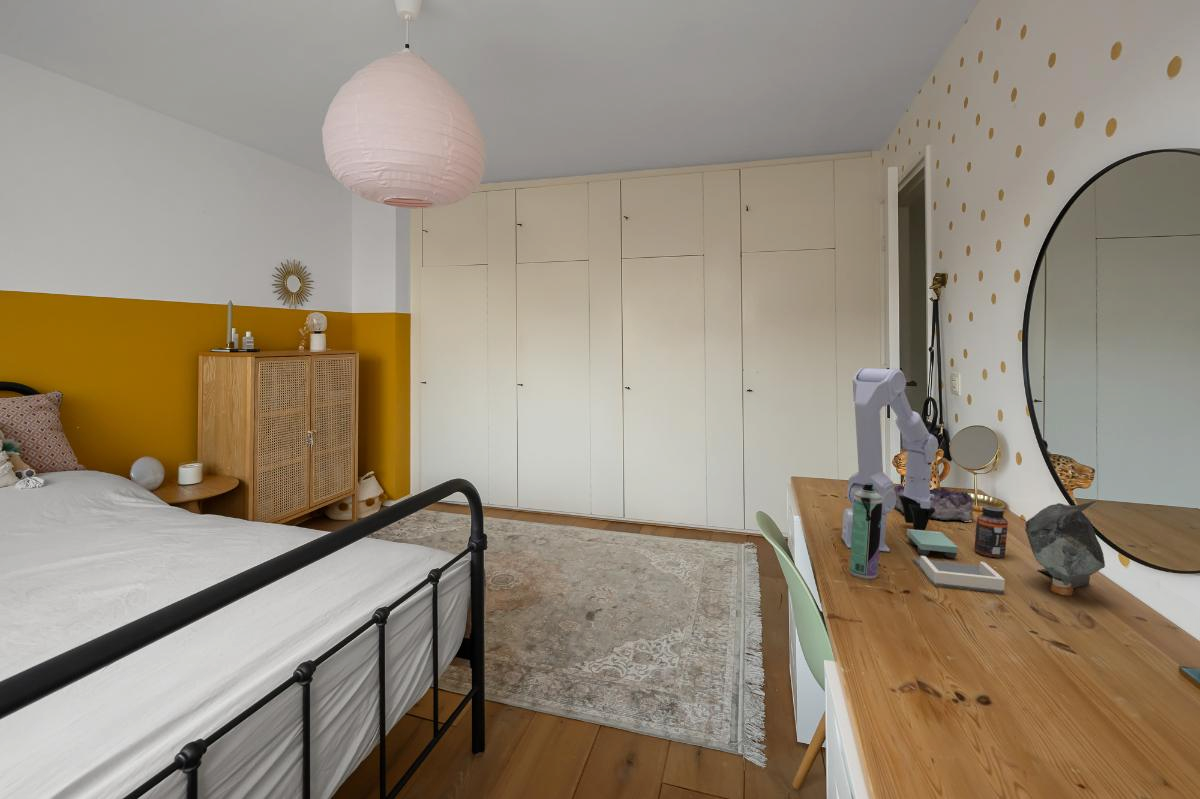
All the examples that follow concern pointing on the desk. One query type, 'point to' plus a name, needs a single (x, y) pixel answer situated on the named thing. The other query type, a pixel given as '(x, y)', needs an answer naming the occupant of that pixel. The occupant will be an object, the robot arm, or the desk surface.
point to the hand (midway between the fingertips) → (914, 527)
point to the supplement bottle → (991, 532)
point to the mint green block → (932, 542)
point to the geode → (944, 504)
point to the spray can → (866, 533)
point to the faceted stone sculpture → (1065, 546)
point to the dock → (961, 575)
